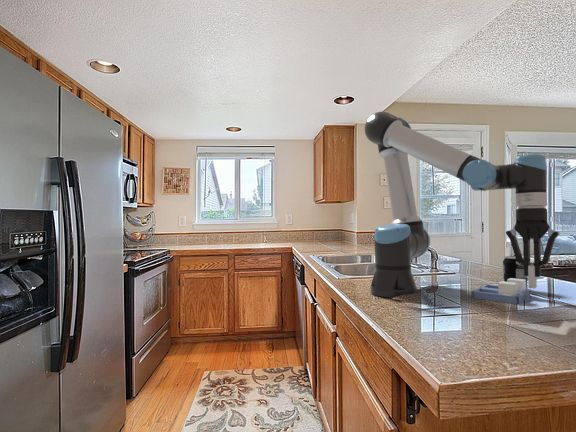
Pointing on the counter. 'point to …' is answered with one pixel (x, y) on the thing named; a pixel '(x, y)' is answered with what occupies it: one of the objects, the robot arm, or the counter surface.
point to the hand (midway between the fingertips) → (532, 287)
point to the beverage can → (513, 269)
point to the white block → (508, 288)
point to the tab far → (519, 283)
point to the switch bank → (492, 294)
